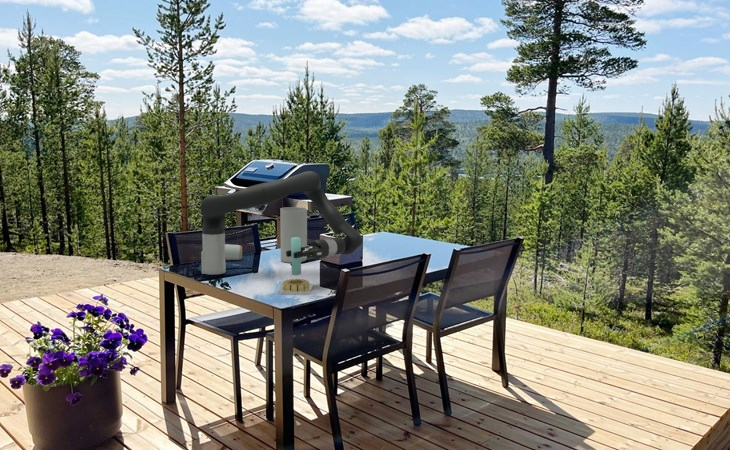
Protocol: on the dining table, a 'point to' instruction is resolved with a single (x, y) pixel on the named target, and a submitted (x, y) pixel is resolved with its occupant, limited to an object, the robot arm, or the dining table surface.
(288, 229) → the cylinder vase
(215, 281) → the dining table surface
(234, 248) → the ceramic mug
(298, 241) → the pin
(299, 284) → the golden segmented cake
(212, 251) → the robot arm
